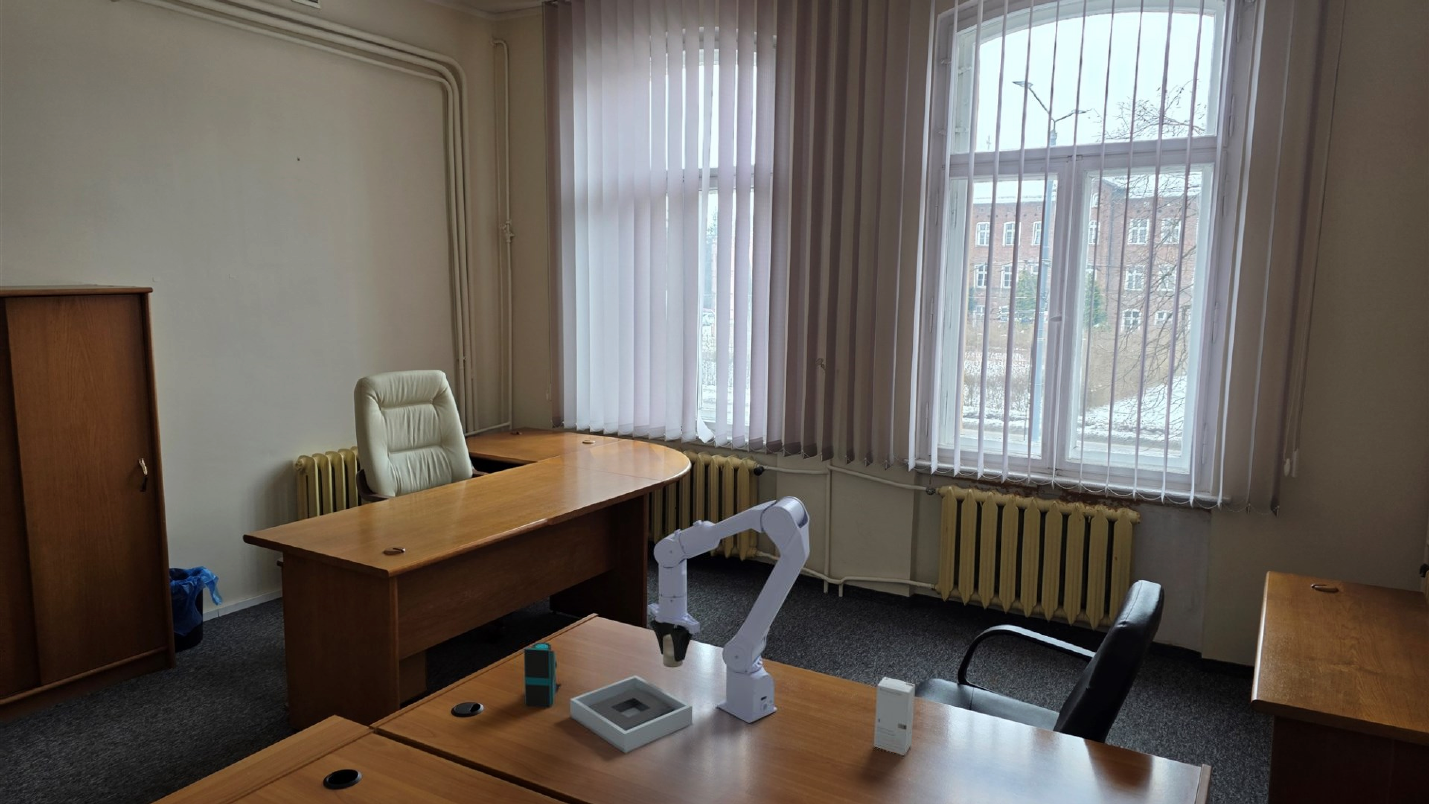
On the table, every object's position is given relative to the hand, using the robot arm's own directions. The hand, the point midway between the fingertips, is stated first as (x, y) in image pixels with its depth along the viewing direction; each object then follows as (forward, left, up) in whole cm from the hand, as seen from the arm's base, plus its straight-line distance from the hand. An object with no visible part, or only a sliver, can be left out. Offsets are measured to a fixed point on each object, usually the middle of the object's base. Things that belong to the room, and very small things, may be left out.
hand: (672, 656), depth 172 cm
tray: (-3, +13, -8) cm, 16 cm away
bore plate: (-3, +13, -8) cm, 16 cm away
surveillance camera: (+17, +20, -8) cm, 28 cm away
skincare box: (-43, -17, -8) cm, 47 cm away
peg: (0, 0, -1) cm, 1 cm away
